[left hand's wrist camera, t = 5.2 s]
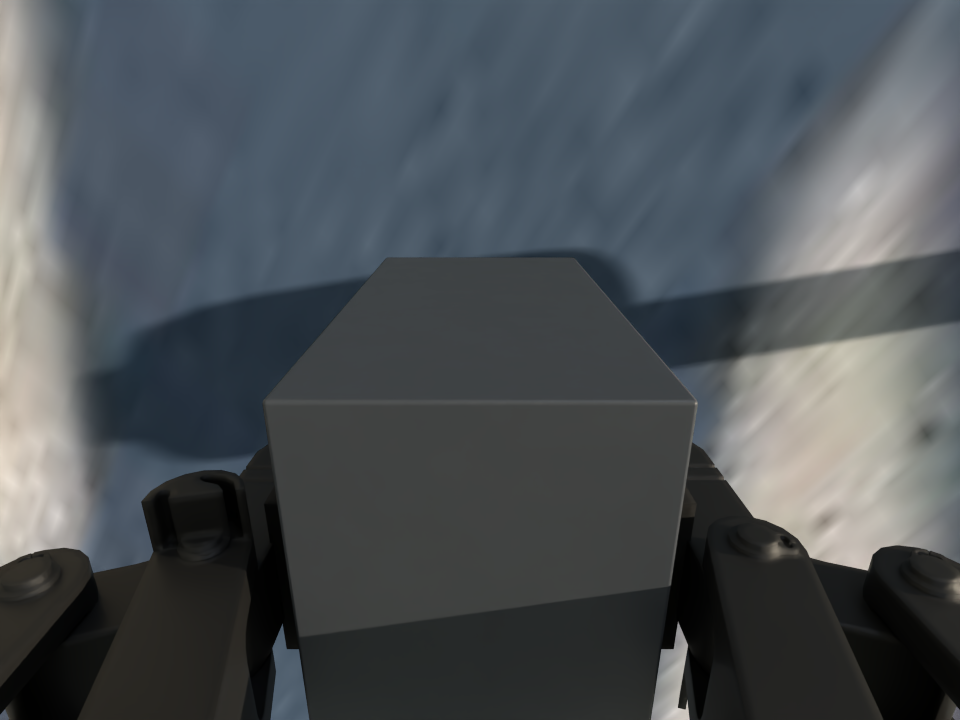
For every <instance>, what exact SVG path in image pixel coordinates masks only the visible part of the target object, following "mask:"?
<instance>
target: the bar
mask: <svg viewBox="0 0 960 720" xmlns="http://www.w3.org/2000/svg"><path fill="white" fill-rule="evenodd" d="M697 405H698V403H697V400H696V399H695V398H694V397H693V395H692V394H691V393H690V392H689V391H688V390H687V388H686V387H685V386H684V385H683V384H682V383H681V381H680V380H679V379H678V378H677V377H676V376H675V374H674V373H673V372H672V371H671V370H670V369H669V368H668V366H667V365H666V364H665V363H664V362H663V361H662V359H661V358H660V357H659V356H658V355H657V354H656V352H655V351H654V350H653V349H652V348H651V347H650V345H649V344H648V343H647V342H646V341H645V340H644V338H643V337H642V336H641V335H640V334H639V333H638V332H637V330H636V329H635V328H634V327H633V326H632V325H631V323H630V322H629V321H628V320H627V319H626V318H625V316H624V315H623V314H622V313H621V312H620V311H619V309H618V308H617V307H616V306H615V305H614V304H613V303H612V301H611V300H610V299H609V298H608V297H607V296H606V294H605V293H604V292H603V291H602V290H601V289H600V287H599V286H598V285H597V284H596V283H595V282H594V280H593V279H592V278H591V277H590V276H589V275H588V273H587V272H586V271H585V270H584V269H583V268H582V267H581V265H580V264H579V263H578V262H577V261H576V260H575V258H386V259H385V260H384V261H383V263H382V264H381V265H380V266H379V267H378V268H377V269H376V271H375V272H374V273H373V274H372V275H371V276H370V278H369V279H368V280H367V281H366V282H365V283H364V285H363V286H362V287H361V288H360V289H359V290H358V291H357V293H356V294H355V295H354V296H353V297H352V298H351V300H350V301H349V302H348V303H347V304H346V305H345V306H344V308H343V309H342V310H341V311H340V312H339V313H338V315H337V316H336V317H335V318H334V319H333V320H332V322H331V323H330V324H329V325H328V326H327V327H326V328H325V330H324V331H323V332H322V333H321V334H320V335H319V337H318V338H317V339H316V340H315V341H314V342H313V343H312V345H311V346H310V347H309V348H308V349H307V350H306V352H305V353H304V354H303V355H302V356H301V357H300V359H299V360H298V361H297V362H296V363H295V364H294V365H293V367H292V368H291V369H290V370H289V371H288V372H287V374H286V375H285V376H284V377H283V378H282V379H281V380H280V382H279V383H278V384H277V385H276V386H275V387H274V389H273V390H272V391H271V392H270V393H269V394H268V396H267V397H266V398H265V399H264V400H263V410H264V417H265V424H266V431H267V437H268V444H269V451H270V457H271V464H272V471H273V478H274V484H275V491H276V498H277V505H278V511H279V518H280V525H281V531H282V538H283V545H284V552H285V558H286V565H287V572H288V578H289V585H290V592H291V599H292V605H293V612H294V619H295V626H296V632H297V639H298V646H299V652H300V659H301V666H302V673H303V679H304V686H305V693H306V699H307V706H308V713H309V720H651V714H652V707H653V701H654V694H655V687H656V681H657V674H658V667H659V660H660V654H661V647H662V640H663V634H664V627H665V620H666V613H667V607H668V600H669V593H670V587H671V580H672V573H673V566H674V560H675V553H676V546H677V540H678V533H679V526H680V519H681V513H682V506H683V499H684V493H685V486H686V479H687V473H688V466H689V459H690V452H691V446H692V439H693V432H694V426H695V419H696V412H697Z"/></svg>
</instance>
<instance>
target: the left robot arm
mask: <svg viewBox="0 0 960 720" xmlns="http://www.w3.org/2000/svg"><path fill="white" fill-rule="evenodd" d="M141 503H142V507H143V511H144V515H145V519H146V523H147V527H148V531H149V535H150V539H151V543H152V547H153V551H154V552H153V554H152V556H151V558H150V560H149V561H146V562H142V563H139V564H135V565H130V566H125V567H120V568H115V569H111V570H106V571H101V572H96V573H93V571H92V568H91V564H90V561H89V558H88V556H86V555H85V554H84V553H83V552H81V551H80V550H75V549H69V548H59V549H50V550H43V551H39V552H34V553H33V554H28V555H25V556H22V557H20V558H18V559H16V560H14V561H12V562H10V563H8V564H6V565H4V566H1V567H0V714H1V713H2V712H3V711H4V709H6V712H7V714H8V717H9V720H270V718H271V710H272V701H273V692H274V684H275V675H276V669H275V662H274V656H273V650H272V647H273V645H274V643H275V640H276V638H277V635H278V633H279V631H280V628H281V626H282V623H283V628H284V634H285V640H286V647H287V649H299V646H298V639H297V632H296V626H295V619H294V612H293V605H292V599H291V592H290V585H289V578H288V572H287V565H286V558H285V552H284V545H283V538H282V531H281V525H280V518H279V511H278V505H277V498H276V491H275V484H274V478H273V471H272V464H271V457H270V451H269V444H268V445H267V446H265V447H264V448H262V449H261V450H259V451H258V452H257V453H256V454H255V455H254V457H253V458H252V460H251V461H250V462H249V464H248V465H247V466H246V470H243V472H242V473H241V475H240V476H238V475H237V474H236V473H232V472H227V471H223V470H204V471H199V472H194V473H189V474H185V475H182V476H179V477H177V478H174V479H171V480H169V481H166V482H165V483H163V484H161V485H160V486H158V487H157V488H155V489H153V490H152V491H150V493H149V494H148V495H147V496H146V497H145V498H144V499H143V500H142V501H141ZM678 622H679V624H680V627H681V629H682V631H683V634H684V636H685V639H686V641H687V643H688V650H687V656H686V661H685V667H684V673H683V679H682V685H681V691H680V697H679V704H678V708H681V709H686V704H687V700H688V708H689V717H690V720H954V719H953V717H952V716H953V713H954V711H955V708H956V706H957V707H958V708H959V709H960V564H959V563H957V562H955V561H953V560H951V559H948V558H946V557H945V556H943V555H941V554H938V553H935V552H932V551H927V550H925V549H921V548H915V547H906V546H897V545H896V546H890V547H883V548H880V549H879V550H878V551H877V552H876V553H874V554H873V556H872V559H871V563H870V566H869V569H868V571H867V570H862V569H857V568H852V567H847V566H842V565H838V564H833V563H828V562H824V561H820V560H816V559H812V558H810V557H809V555H808V553H807V551H806V549H805V548H804V547H803V545H802V544H801V543H800V541H799V540H798V539H797V538H796V537H794V536H793V535H791V534H790V533H789V532H787V531H786V530H785V529H783V528H781V527H779V526H776V525H774V524H772V523H770V522H767V521H765V520H760V519H756V518H754V517H753V516H752V515H751V513H750V512H749V511H748V509H747V508H746V507H745V505H744V504H743V503H742V501H741V500H740V498H739V497H738V496H737V494H736V493H735V492H734V490H733V489H732V488H731V486H730V485H729V484H728V482H727V481H726V480H724V477H723V476H722V474H721V473H720V471H719V470H718V469H717V468H715V467H714V463H713V462H712V461H711V459H710V458H709V457H708V455H707V454H706V453H705V451H704V450H703V449H701V448H700V447H698V446H697V445H695V444H694V443H692V446H691V452H690V459H689V466H688V473H687V479H686V486H685V493H684V499H683V506H682V513H681V519H680V526H679V533H678V540H677V546H676V553H675V560H674V566H673V573H672V580H671V587H670V593H669V600H668V607H667V613H666V620H665V627H664V634H663V640H662V647H661V649H674V643H675V637H676V630H677V624H678Z"/></svg>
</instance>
